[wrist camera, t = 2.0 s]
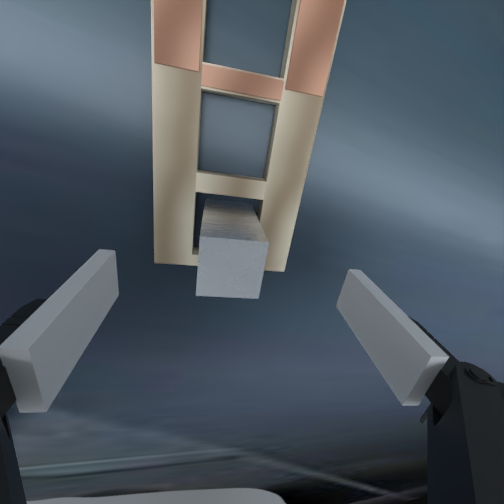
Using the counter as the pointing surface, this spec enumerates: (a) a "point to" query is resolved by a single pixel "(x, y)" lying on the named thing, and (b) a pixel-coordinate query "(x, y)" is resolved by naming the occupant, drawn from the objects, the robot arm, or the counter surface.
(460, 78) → the counter surface
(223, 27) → the counter surface
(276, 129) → the hole rail
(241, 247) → the steel peg
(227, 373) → the counter surface
